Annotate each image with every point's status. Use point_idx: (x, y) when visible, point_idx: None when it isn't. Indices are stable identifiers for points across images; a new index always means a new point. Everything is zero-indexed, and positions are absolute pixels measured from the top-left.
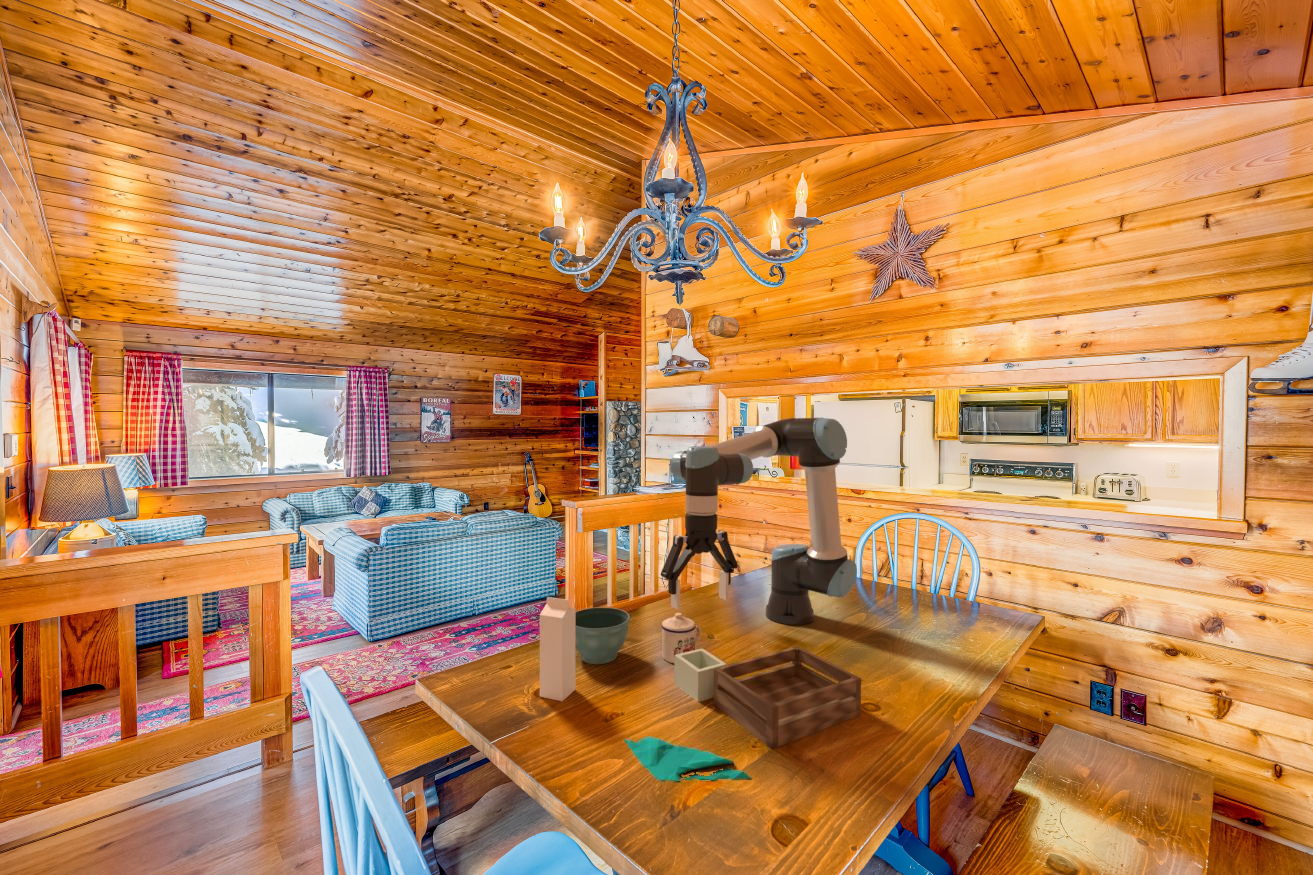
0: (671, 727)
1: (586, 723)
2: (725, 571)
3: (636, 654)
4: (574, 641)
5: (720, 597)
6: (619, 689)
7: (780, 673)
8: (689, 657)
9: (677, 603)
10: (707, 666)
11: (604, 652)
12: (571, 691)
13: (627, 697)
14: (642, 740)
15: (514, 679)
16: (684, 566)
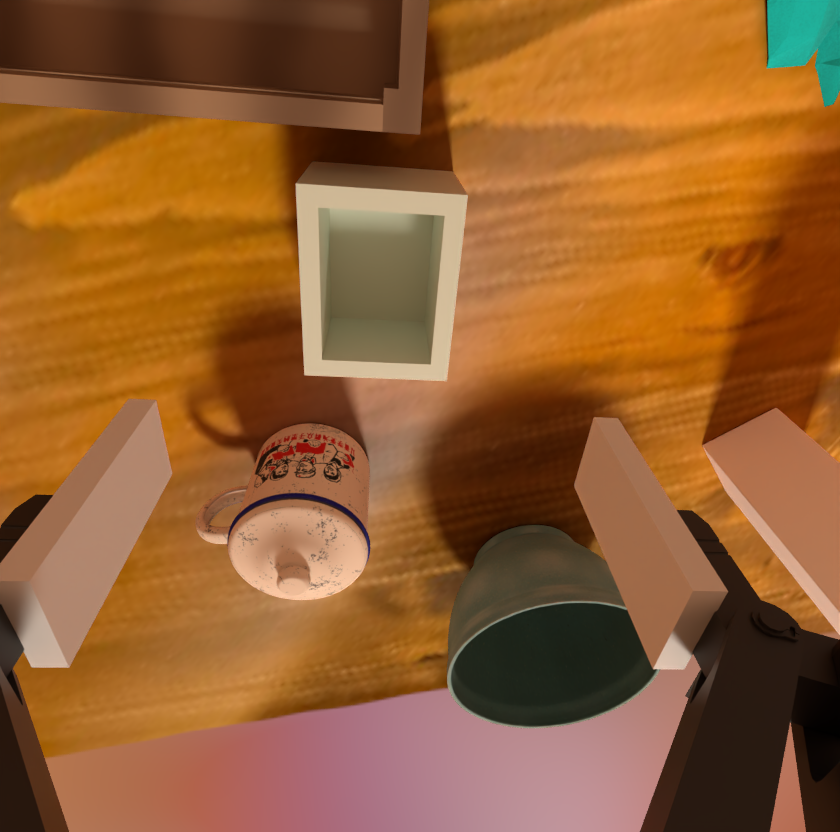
0: (657, 68)
1: (825, 265)
2: (7, 624)
3: (423, 532)
4: (800, 550)
5: (166, 460)
6: (607, 385)
7: (13, 67)
8: (384, 354)
9: (633, 443)
10: (325, 293)
11: (566, 542)
12: (727, 435)
13: (623, 332)
14: (821, 34)
15: (770, 552)
16: (706, 751)
